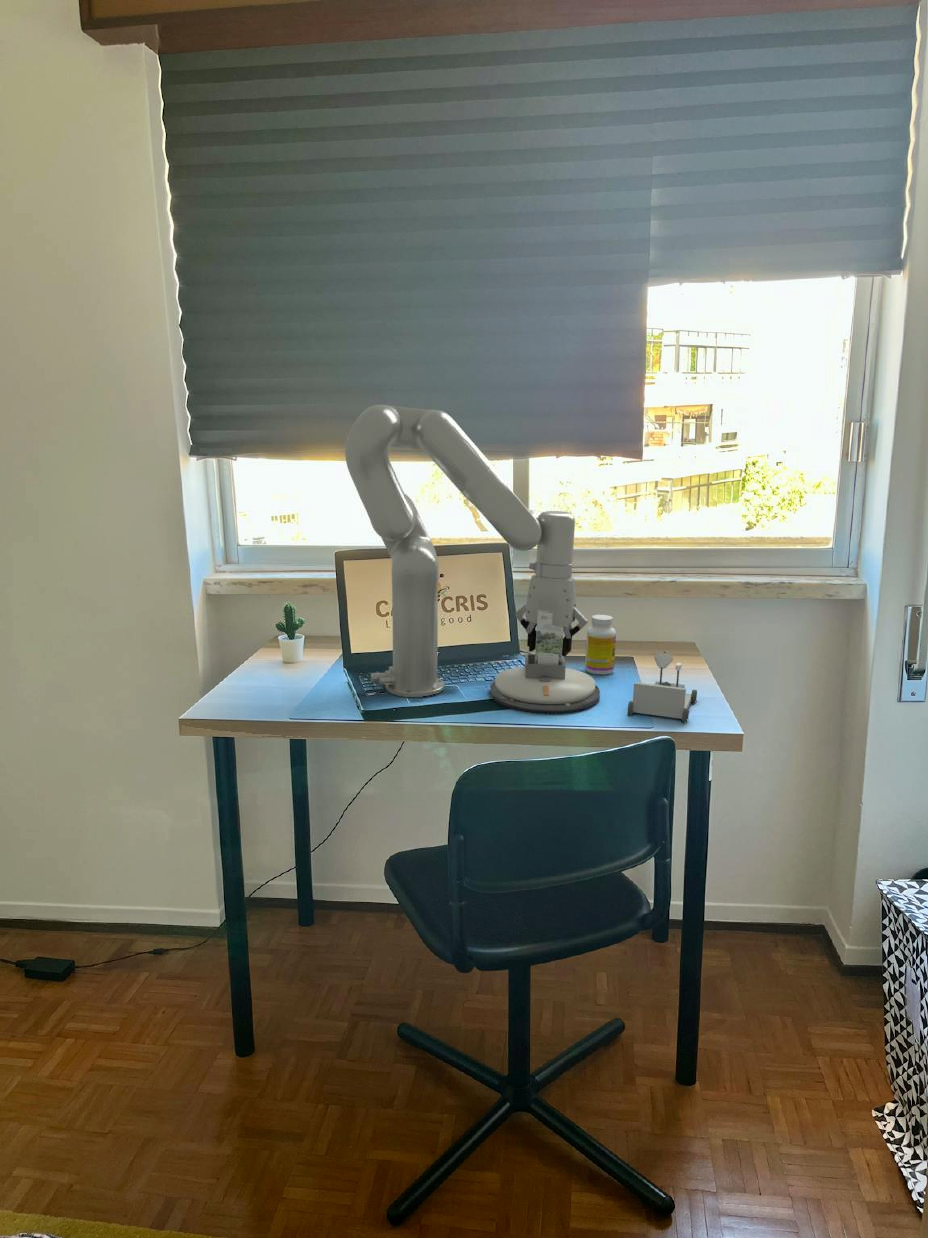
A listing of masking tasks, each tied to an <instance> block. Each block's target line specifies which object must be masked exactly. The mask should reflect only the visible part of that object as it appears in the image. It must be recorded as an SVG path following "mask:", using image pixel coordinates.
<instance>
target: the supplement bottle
mask: <svg viewBox="0 0 928 1238" xmlns="http://www.w3.org/2000/svg"><path fill="white" fill-rule="evenodd" d="M591 624H592V625H591V626H589V627H588V628H587V630H586V643H585V645H586V646H585V665H584V669H585V670H586V672H588V673H589V674H591V675H592V674H593V675H600V676H602V675H611V674H612V673H613V672H614V671H615V660H616V639H617V638H616V637H617V632H616V629H615V628H613V627H612V624H613V617H612V616H611V615H607V614H594V615H592V616H591Z"/></svg>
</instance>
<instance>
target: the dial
mask: <svg viewBox="0 0 928 1238" xmlns="http://www.w3.org/2000/svg"><path fill="white" fill-rule="evenodd" d="M524 655H525V656H524V659H525V660H524V666H517V667H513V668H509V669H505V670H504V671H501V672H499V673H498V674H497V675H496V676H495V679H494V681H495V688H496V690H497V691H498V692H499V693H501V694H502V695H504V696H506V697H509V698H512V699H515V700H519V701H523V702H529V703H538V704H564V703H573V702H578V701H581V700H584V699H587V698H589V697H591V696H592V695H593V694H594V693H595V685H596V681H595V679H594V677H592V676H591V675H589V674H587V673H585V672H582V671H579V670H577V669H573V668H568V667H566V660H565V656H562V660H561V665H546V664H535V653H527V652H526V653H525V654H524Z"/></svg>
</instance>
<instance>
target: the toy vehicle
mask: <svg viewBox="0 0 928 1238" xmlns="http://www.w3.org/2000/svg"><path fill="white" fill-rule="evenodd" d="M653 657H654V661H655V663H656V666H657V667H658V668H659V669H660V671H659V672H660V673H659V681H655V683H647V682H645V683H644V682H638V681H635V682H634V683H633V695H632V700H630V701H628V705H627V716H630V715H632V716H633V714H636V713H637V714H642V715H651V716H659V717H667V718H673V719H678V720H679V719H681V722H687V723H688V721H687V719H688V720H689V716H690V715H689V713H690V709H689V706H690V704H694V703H695V704H696V702H697V697H698V689H692V691H691V693H686V692H687V688H685V685H686V684H681V683H679V679H680V677H679V676H680V671H681V670H682V667H683V663H682V662H677V663H676V664H675V668H674V670H675V671H676V683H671V682H668V681H662V680H663V670H664V669H667V668H668V667H669V665H670V664H671V663H672V662H673V660H674V658H673V656H671V654H668V653H667V652H666V651H663V652H657V653H655V654H654V655H653ZM695 701H696V702H695ZM633 712H634V713H633ZM632 713H633V714H632Z"/></svg>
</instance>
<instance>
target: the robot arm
mask: <svg viewBox="0 0 928 1238" xmlns="http://www.w3.org/2000/svg"><path fill="white" fill-rule="evenodd" d="M346 437H347V438H346V441H345V445H344V446H345V447H344V457H345V463H346V467H347V470H348V472H349V475H350V477H351V480H352V482H353V484H354V486H355V489H356V491H357V493H358V497H359V498H360V500H361V503H362V505H363V507H364V509H365V512H366V513H367V515H368V518H369V521H370V524H371V526H372V528H373V531H374V532H375V533H376V534H377V535H378V536H379V537H380V538H381V540H382V542H383V544H384V546H385V548H386V550H387V552H388V555H389V557H390V558H391V597H392V599H391V601H392V603H391V606H392V607H391V608H392V611H391V613H392V614H391V615H392V666H391V665H390V666H388V670H385V671H384V672H372V673H370V682H371V683H378V682H379V685H385V690H386V691H387V692H388V693H389V694H392V695H395V696H398V697H404V698H424V697H423V696H427V697H429V696H428V695H431V694H436V695H438V694H440V693H441V691H442V690H443V691H444V690H445V688H444V687H445V682H444V681H443V680H442V679H441V678H439V677H438V645H439V644H438V643H439V641H438V638H439V637H438V635H439V633H438V632H439V631H438V624H439V623H438V621H439V619H438V617H439V616H438V611H439V609H438V608H439V607H438V604H439V603H438V602H439V580H440V579H439V576H440V575H439V573H440V572H439V570H440V569H439V559H438V555H437V551H436V549H435V547H434V544H433V541H432V540H431V537H430V536H429V534H428V533H429V532H428V531H427V530H426V526H425V524H424V523H423V521H422V519H421V516H420V514H419V512H418V509H417V507H416V505H415V503H414V501H413V500H412V498H410V496H408V495H407V493H405V492H404V490H403V488H402V486H401V483H400V481H399V479H398V476H397V474H396V472H395V470H394V467H393V466H392V463H391V461H390V458H389V451H390V448H391V447H392V448H401V449H412V450H423V451H424V452H425V453H426V454H427V456H428V457H429V458H430V459H431V460H432V461H433V462H434V464H435V465H436V466H438V468H439V469H440V470H441V471H442V472H443V473H444V475H445V476H446V477H447V478H448V479H449V481H450V482H451V483H452V484H453V485H454V486H455V487H456V489H458V491H459V492H460V493H461V494H462V495H463V497H464V498H465V499H466V500H467V501H469V503H471V504H472V505H473V506H474V507H475V508H476V509H477V510H478V511H479V512H480V513H481V514H482V516H483V517H484V518H485V519H486V520H487V522H489V524H490V525H491V526H492V527H493V528H494V529H495V531H497V533H498V534H499V535H500V536H501V537H502V539H503V540H505V542H506V543H507V544H508V545H509V547H511V548H512V549H514V550H517V551H521V552H525V551H530V550H532V549H534V548H535V547H536V560H535V562H530V563H529V569H530V570H532V571H534V574H533V575H531V577H530V579H529V580H530V581H529V586H528V590H527V591H528V592H527V597H526V604H524V605H523V606H522V607H521V608H520V609H518V610H517V611H515V612H514V616H515V618H517V620H518V621H519V622H520V625H521V626H522V628H523V629H525V632H526V633H527V644H526V645H527V647H528V653H529V652H530V653H532V652H534V651H535V649H536V633H537V616H538V610H541V611H547V612H550V613H553V616H552V625H555V626H559V627H564V630H563V635H564V636H563V644H562V656H564V657H566V656H567V655H568V654H569V653H571V652H572V642H573V636H575V635H576V634H577V633H579V632H580V631H581V630H582V629H583V628H584V627H585V626H586V625H587V624H588V623H589V620H588V619H587V618H586V617H585V616H584V615H583V614H582V613H581V612H580V610H579V609H577V592H576V591H577V590H576V583H575V578H574V577H572V574H573V573H572V572H573V557H574V541H575V526H576V517H575V516H574V515H573V514H572V513H571V512H568V511H562V510H561V511H559V510H550V511H549V510H546V511H539V510H532V509H528V508H527V507H526V505H525V504H524V503H523V501H521V499H520V498H519V497H518V496H517V495H516V494H515V493H514V491H513V490H512V489H511V488H510V487H509V485H508V484H507V483H506V481H505V480H504V479H503V478H502V476H501V475H500V473H499V471H498V469H496V467H495V466H494V465H493V464H492V463H491V461H490V460H489V458H487V456H486V455H485V454H484V453H483V452H482V451H481V450H480V448H479V447H478V446H477V445H476V444H475V442H473V440H472V439H471V438H470V437H469V436H468V435H467V433H465V431H464V430H463V428H461V427H460V425H459V424H458V422H456V421H455V420H454V419H453V417H452V416H450V415H449V414H448V413H447V412H445V411H443V410H439V409H430V408H429V409H426V408H415V407H405V406H397V405H391V404H390V405H389V404H374V405H371V406H369V407H367V408H366V409H365V410H363V411H362V412H361V414H360V415H359V416H358V417H357V418H356V420H355V421H354V423H353V424H352V426H351V427H350V429H349V432H348V435H347V436H346ZM575 621H577V622H578V623H577V624H576V625H575V626H574V627H573V625H572V623H574V622H575ZM443 691H442V692H443ZM439 692H440V693H439ZM437 693H438V694H437Z"/></svg>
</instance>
